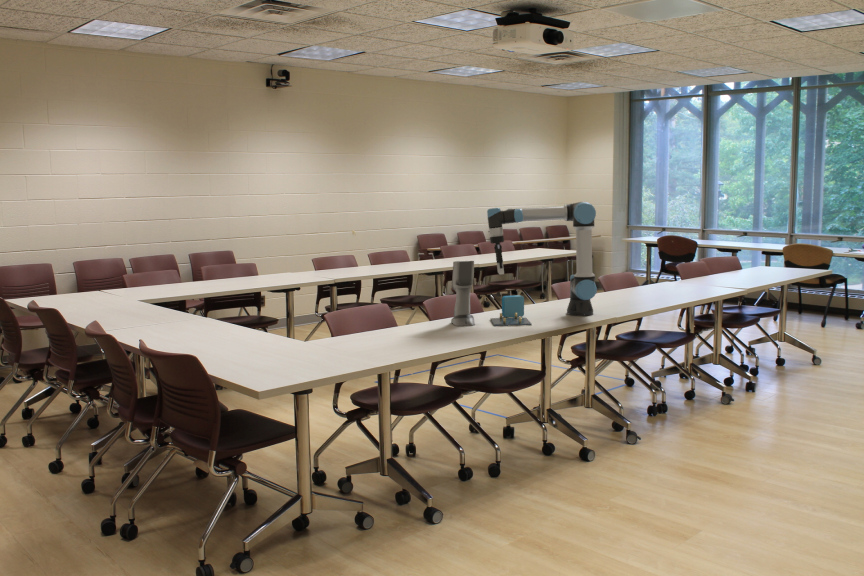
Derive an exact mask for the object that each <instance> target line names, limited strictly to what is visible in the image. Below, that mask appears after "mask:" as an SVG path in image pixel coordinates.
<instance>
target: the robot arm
mask: <svg viewBox="0 0 864 576" xmlns="http://www.w3.org/2000/svg"><path fill="white" fill-rule="evenodd" d="M486 214H487V216H486V217H487V224H488V229H489V230H488V231H487V232H488V233H489V236H490V237H489V240H490V244H494V246H493V247H494V248H493V249H494V253H495V261H496V268H497V274H499V275H500V276H501V275H505V270H504V269H505V267H504V259H503V250H502V249H503V248H502V244H501V243H504V242H505V238H504V230H503V225H507V224H518V223H523V222H536V221H537V222H539V221H540V222H542V221H561V220H564V221H565V222H572V228H574V230H575V248H576V253H575V254H576V256H575V257H576V258H575V259H576V272H575V274H571V275H570V277H569V281H570V282H569V289H570V290H569V303H568V305H567V307H566V308H567V309H566V314H567V315H570V316H592V315H594V308H593V305H592V301H591V300H592V299H593V298H594V297H595V296H596V294H597V291H598V288H597V285H596V274H595V273H593V234H592V233H593V228H594V227H595V219H596V216H597V215H596V214H597V211H596V208H595V206H593V204H591V203H590V202H587V201H579V202H573V203H567V204H566V203H565V204H564V205H563V206H542V207H540V206H539V207H524V208H523V207H522V208H508V209H506V210H501V208H500V207H494V208H489V209H487V211H486Z"/></svg>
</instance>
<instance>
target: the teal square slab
mask: <svg viewBox="0 0 864 576" xmlns="http://www.w3.org/2000/svg"><path fill="white" fill-rule="evenodd" d="M501 313H502V317H503V316H504V317H503V318H506V317H513V318H515V313H517V318H520V317H519V316H523V317H524V316H525V297H524V296H523V295H520V294H518V295H503V296H502V297H501Z"/></svg>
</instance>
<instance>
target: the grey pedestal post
mask: <svg viewBox="0 0 864 576" xmlns="http://www.w3.org/2000/svg"><path fill="white" fill-rule="evenodd" d="M474 273H475V260H465V261H464V260H463V261H462V260H461V261H460V260H456V261H453V264H452V278H451V279H452V280H451V288H452V290H453V291H454V292H455V293H456V294H455V297H456V298H455V304H454V310H453V316H452V318H451V320H450V323H451V324H452V323H453V324H452V325H454V326H456V327H469V326H475V324H476V323H475V317H474V316H473V315H472V314H471V290H472V288H473V285H474V284H473V283H474V278H475V277H474V276H475V274H474Z"/></svg>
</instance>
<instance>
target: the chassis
mask: <svg viewBox="0 0 864 576" xmlns="http://www.w3.org/2000/svg"><path fill="white" fill-rule="evenodd" d="M489 321H490V322H491V323H492V325H493V327H509V326H508V325H531V326H532V323H531V321H530V320H529V319H528V318H527V317H517V313H515V317H513V318H506V317H503V316H502V312H500V313H499V317H495V318H493V317H491V318H490V319H489Z"/></svg>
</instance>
